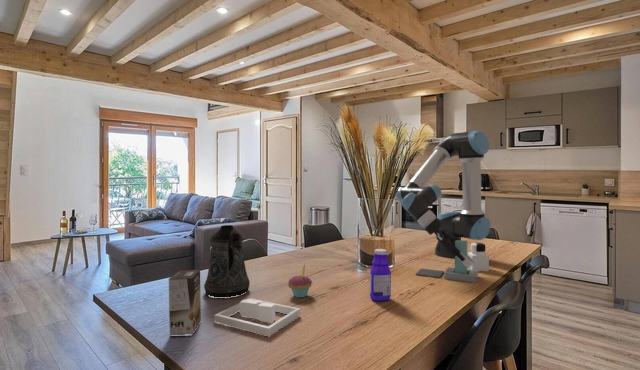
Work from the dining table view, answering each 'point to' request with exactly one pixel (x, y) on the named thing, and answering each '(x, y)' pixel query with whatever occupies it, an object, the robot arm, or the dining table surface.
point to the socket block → (461, 275)
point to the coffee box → (184, 302)
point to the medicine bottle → (479, 257)
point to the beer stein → (226, 264)
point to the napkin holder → (258, 310)
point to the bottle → (380, 277)
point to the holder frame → (261, 329)
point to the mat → (430, 273)
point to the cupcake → (300, 284)
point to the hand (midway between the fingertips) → (470, 264)
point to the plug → (458, 264)
